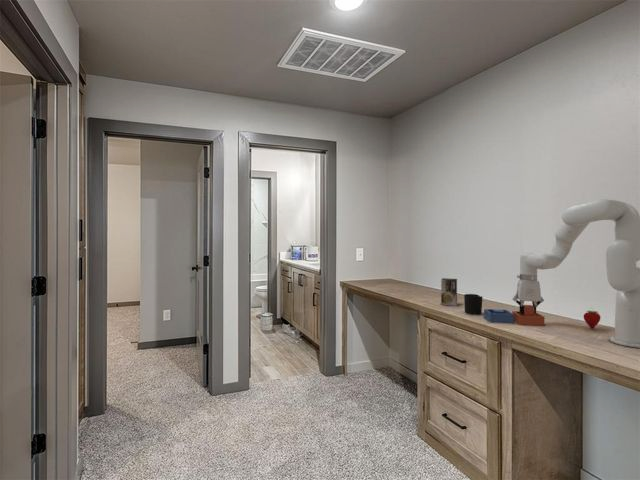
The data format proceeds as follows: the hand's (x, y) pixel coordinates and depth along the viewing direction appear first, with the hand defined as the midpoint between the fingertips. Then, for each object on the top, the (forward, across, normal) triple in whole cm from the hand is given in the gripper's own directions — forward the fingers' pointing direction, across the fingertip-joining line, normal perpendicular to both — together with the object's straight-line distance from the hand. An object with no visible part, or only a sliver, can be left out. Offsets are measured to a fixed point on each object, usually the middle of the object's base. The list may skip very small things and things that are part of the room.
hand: (527, 313), depth 187 cm
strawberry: (+5, +26, -6) cm, 27 cm away
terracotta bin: (+4, 0, 0) cm, 4 cm away
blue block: (+4, -13, +3) cm, 14 cm away
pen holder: (+5, -22, +18) cm, 29 cm away
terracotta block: (0, 0, 0) cm, 0 cm away
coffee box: (+5, -31, +41) cm, 51 cm away
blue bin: (+5, -13, +3) cm, 14 cm away
